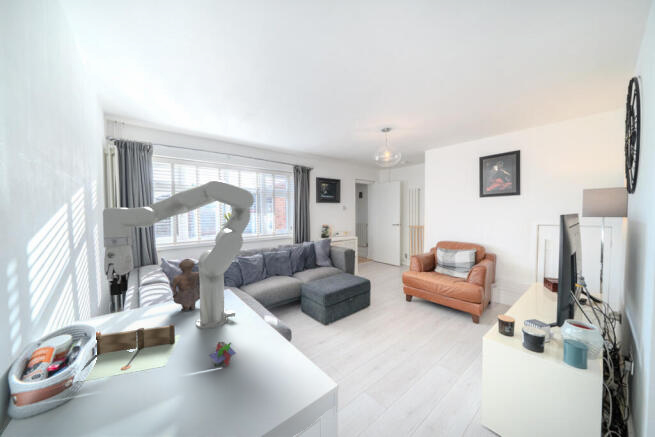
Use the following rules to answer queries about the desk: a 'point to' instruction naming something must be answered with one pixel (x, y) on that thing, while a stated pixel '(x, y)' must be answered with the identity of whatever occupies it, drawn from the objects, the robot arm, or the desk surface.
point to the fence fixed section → (155, 336)
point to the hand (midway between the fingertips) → (119, 292)
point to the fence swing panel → (116, 341)
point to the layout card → (131, 360)
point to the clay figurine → (186, 286)
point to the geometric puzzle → (222, 353)
